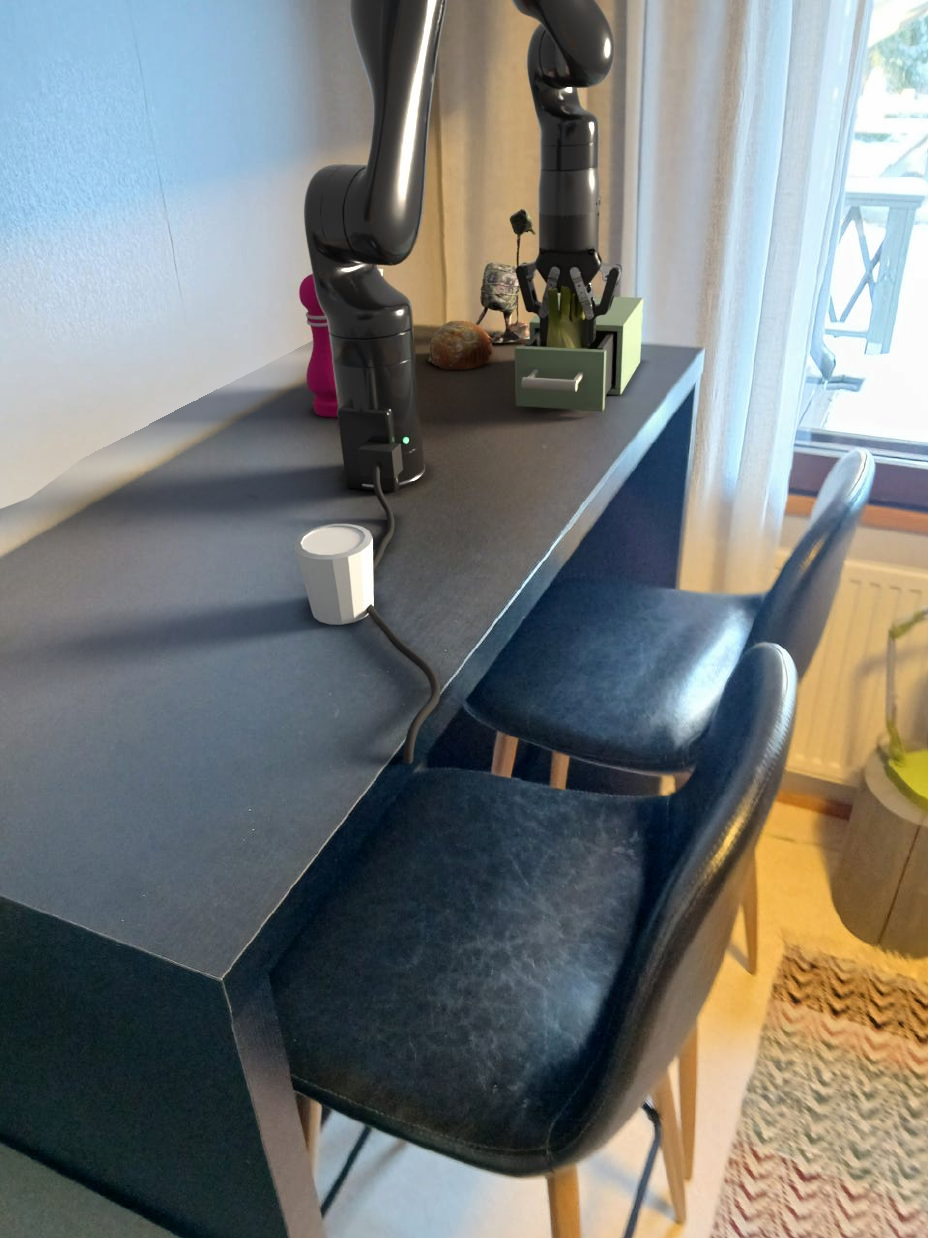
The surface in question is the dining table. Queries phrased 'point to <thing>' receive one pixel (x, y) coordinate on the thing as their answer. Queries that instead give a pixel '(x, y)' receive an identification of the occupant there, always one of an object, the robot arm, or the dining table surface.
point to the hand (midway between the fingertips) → (567, 344)
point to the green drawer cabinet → (629, 326)
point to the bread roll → (460, 346)
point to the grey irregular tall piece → (506, 287)
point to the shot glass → (337, 571)
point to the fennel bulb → (565, 320)
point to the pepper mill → (319, 353)
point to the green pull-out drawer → (565, 374)
